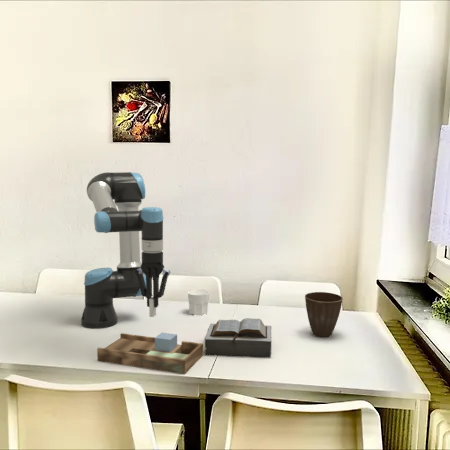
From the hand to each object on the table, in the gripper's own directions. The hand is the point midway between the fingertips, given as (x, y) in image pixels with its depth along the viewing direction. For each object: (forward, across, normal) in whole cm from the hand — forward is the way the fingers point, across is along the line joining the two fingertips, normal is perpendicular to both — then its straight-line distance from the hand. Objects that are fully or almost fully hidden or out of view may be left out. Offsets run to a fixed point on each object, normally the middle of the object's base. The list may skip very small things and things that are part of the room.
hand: (152, 315), depth 184 cm
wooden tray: (+14, +1, -4) cm, 15 cm away
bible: (+15, +29, +15) cm, 36 cm away
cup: (+15, +2, +52) cm, 55 cm away
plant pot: (+15, +59, +37) cm, 71 cm away
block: (+11, +5, -1) cm, 13 cm away
